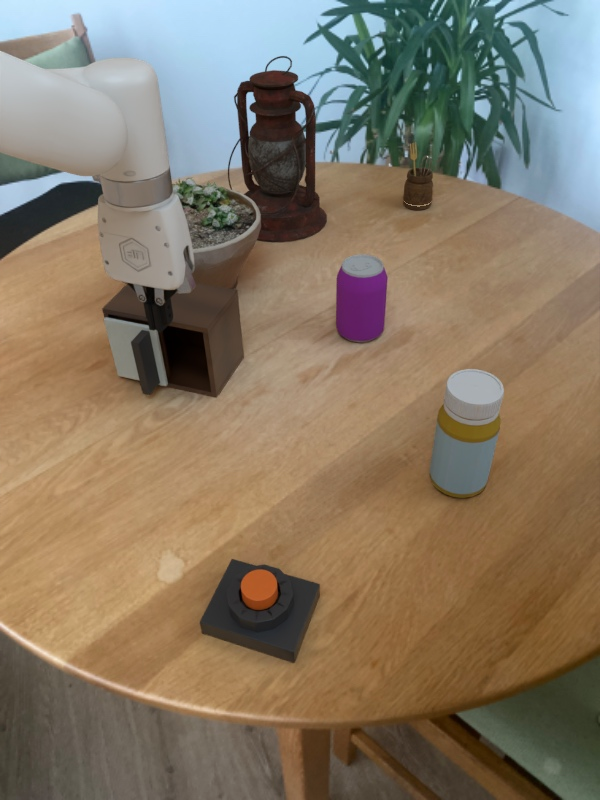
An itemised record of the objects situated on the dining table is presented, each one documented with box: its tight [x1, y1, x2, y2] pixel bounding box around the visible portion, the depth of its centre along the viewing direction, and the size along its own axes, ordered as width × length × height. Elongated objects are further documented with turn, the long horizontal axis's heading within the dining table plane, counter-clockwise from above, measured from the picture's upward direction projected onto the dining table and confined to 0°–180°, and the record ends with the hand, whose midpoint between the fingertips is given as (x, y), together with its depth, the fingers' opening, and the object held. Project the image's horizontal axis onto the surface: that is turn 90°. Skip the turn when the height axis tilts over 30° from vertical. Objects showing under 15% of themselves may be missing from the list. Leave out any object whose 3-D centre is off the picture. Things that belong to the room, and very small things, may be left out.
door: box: [103, 317, 168, 396], centre depth 94 cm, size 4×8×10 cm, turn 71°
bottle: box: [428, 368, 505, 499], centre depth 78 cm, size 7×7×15 cm
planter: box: [172, 177, 261, 290], centre depth 115 cm, size 26×25×15 cm
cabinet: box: [101, 283, 245, 398], centre depth 98 cm, size 10×16×12 cm, turn 71°
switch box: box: [199, 558, 321, 664], centre depth 69 cm, size 10×8×4 cm
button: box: [241, 569, 278, 610], centre depth 67 cm, size 4×4×2 cm
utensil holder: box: [402, 141, 434, 211], centre depth 138 cm, size 6×6×12 cm
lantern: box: [227, 55, 328, 243], centre depth 128 cm, size 19×19×30 cm
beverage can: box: [335, 253, 389, 343], centre depth 104 cm, size 8×8×12 cm
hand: (161, 325), depth 86 cm, fingers closed
